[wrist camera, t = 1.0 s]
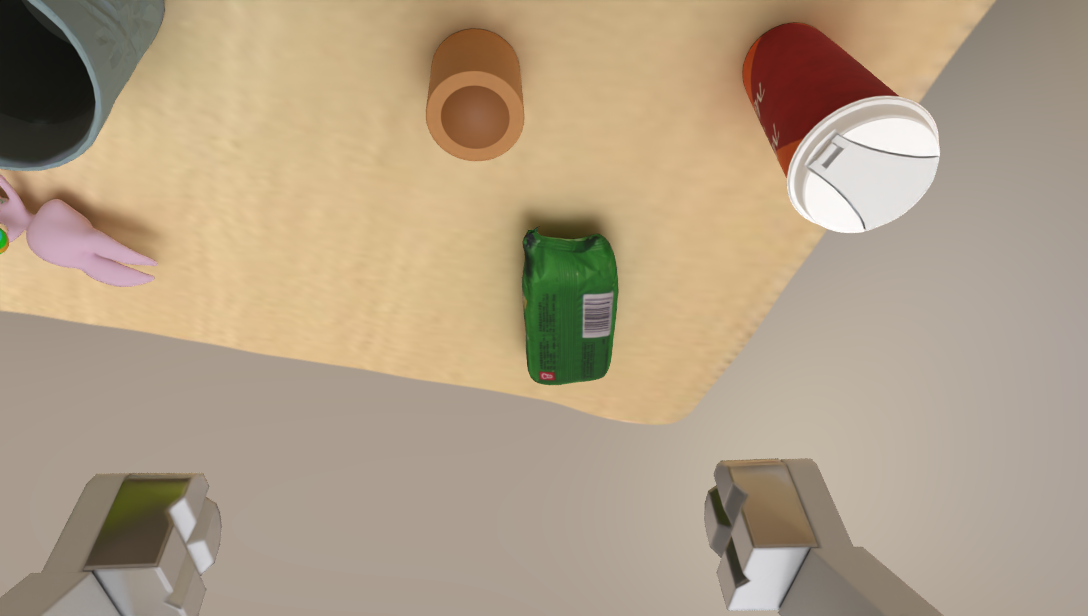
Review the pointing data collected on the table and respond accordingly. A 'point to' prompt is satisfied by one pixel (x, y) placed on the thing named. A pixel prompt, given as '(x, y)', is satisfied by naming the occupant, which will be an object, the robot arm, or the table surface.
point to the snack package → (568, 307)
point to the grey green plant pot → (65, 73)
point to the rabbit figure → (70, 241)
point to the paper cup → (838, 131)
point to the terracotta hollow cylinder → (475, 96)
